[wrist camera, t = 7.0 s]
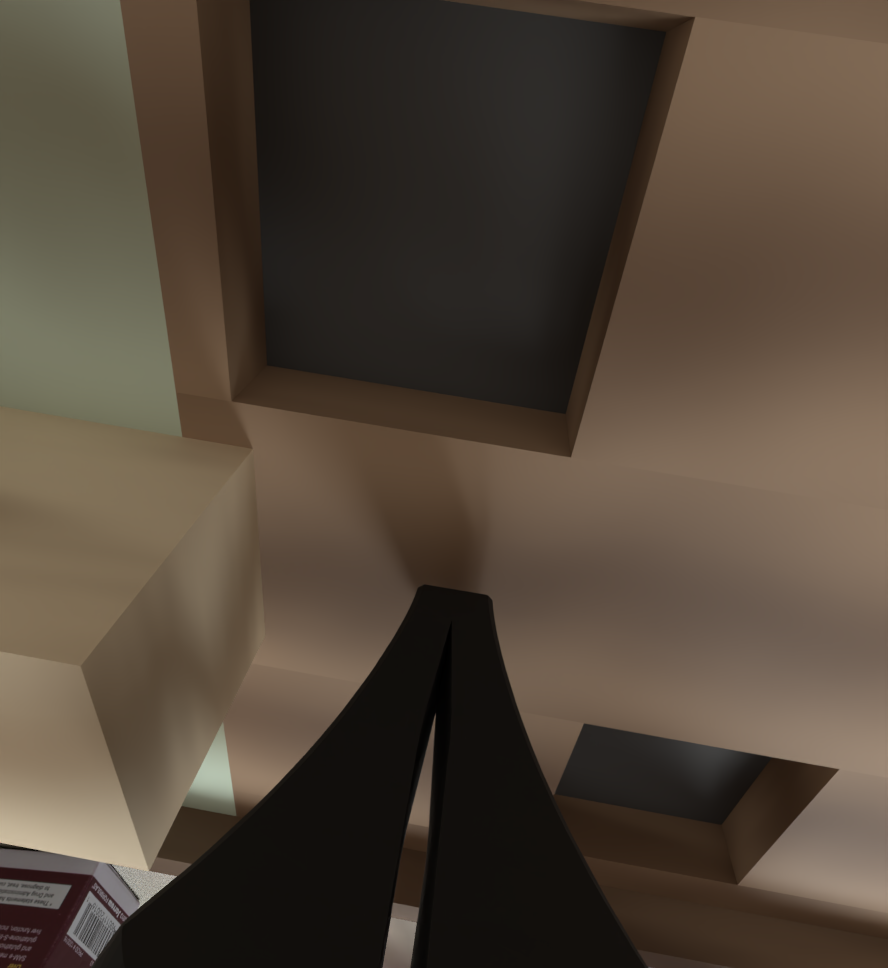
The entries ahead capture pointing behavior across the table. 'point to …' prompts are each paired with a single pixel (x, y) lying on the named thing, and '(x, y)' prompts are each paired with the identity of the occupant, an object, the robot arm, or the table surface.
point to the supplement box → (58, 909)
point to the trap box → (511, 394)
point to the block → (117, 627)
